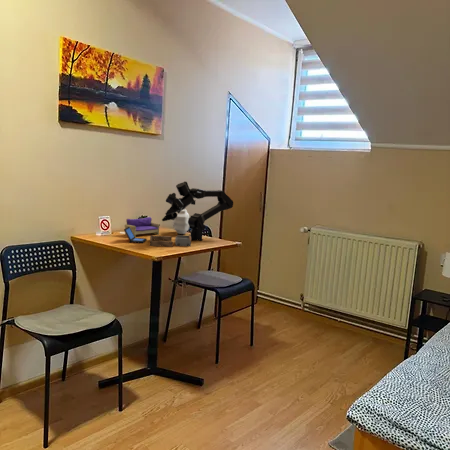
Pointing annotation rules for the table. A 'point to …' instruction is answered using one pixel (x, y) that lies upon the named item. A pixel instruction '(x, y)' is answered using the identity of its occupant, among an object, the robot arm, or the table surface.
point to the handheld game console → (133, 237)
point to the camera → (181, 222)
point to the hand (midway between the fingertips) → (164, 217)
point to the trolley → (183, 240)
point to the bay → (161, 241)
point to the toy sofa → (142, 226)
